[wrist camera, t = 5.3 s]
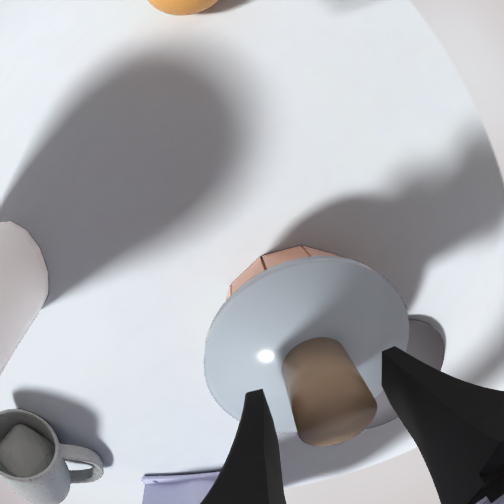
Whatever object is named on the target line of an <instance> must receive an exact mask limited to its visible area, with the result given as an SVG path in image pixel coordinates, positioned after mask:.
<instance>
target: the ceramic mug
mask: <svg viewBox="0 0 504 504" xmlns="http://www.w3.org/2000/svg"><path fill="white" fill-rule="evenodd" d="M66 459H69V460H75V461H82V462H86V463H90V464H93V466H92V468H90V469H85V470H72V471H71V470H68V467H67V464H66V462H65V460H66ZM102 475H103V465H102V461H101V458H100V456H99V455H98V454H97V453H96V452H94V451H92V450H90V449H88V448H85V447H81V446H76V445H69V444H61V443H59V441H58V438H57V436H56V434H55V432H54V430H53V429H52V427H51V426H50V425H49V424H48V423H47V422H46V421H45V420H44V419H42V418H41V417H39V416H38V415H36V414H34V413H32V412H29V411H26V410H22V409H8V410H4V411H1V412H0V477H1V478H2V479H3V480H4V481H5V482H6V483H7V484H8V485H9V486H10V488H11V489H12V490H13V491H14V492H16V493H17V494H18V495H19V496H20V497H22V498H23V499H25V500H27V501H29V502H31V503H33V504H59V503H60V502H62V501H63V500H64V499H65V498H66V496H67V494H68V492H69V489H70V484H71V483H88V482H93V481H96V480H98V479H99V478H101V477H102Z"/></svg>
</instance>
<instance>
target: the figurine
mask: <svg viewBox="0 0 504 504" xmlns="http://www.w3.org/2000/svg"><path fill="white" fill-rule="evenodd" d="M148 1H149V2H150V3H151V4H152V5H153V6H154V7H155V8H157V9H158V10H160V11H162V12H165V13H168V14H172V15H191V14H195V13H198V12H201V11H204V10H206V9H208V8H209V7H211V6H212V5H214V4H215V3H216V2H217V1H218V0H148Z"/></svg>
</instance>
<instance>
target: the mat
mask: <svg viewBox="0 0 504 504" xmlns="http://www.w3.org/2000/svg"><path fill="white" fill-rule="evenodd" d="M406 353H408V354H409V355H411V356H413V357H415V358H416V359H418V360H420V361H422V362H424V363H425V364H427V365H429V366H431V367H433V368H435V369H437V370H439V371H440V370H441V367H442V364H443V360H444V343H443V340H442V338H441V336H440V335H439V333H438V332H437V331H436V330H435V329H434V328H433V327H431V326H430V325H429V324H427V323H425V322H423V321H419V320H409V339H408V344H407V349H406ZM375 400H376V402H377V412H376V415H375V417H374V419H373V420H372V422H371V423H370V424H369V425H368V426H367V427H366V428H365V429H368V428H373V427H376V426H380V425H382V424H385V423H387V422H389V421H392V420H394V419H395V418H397V417H398V415H397V414H396V412H395V410H394V409H393V407H392V406H391V404H390V402H389V400H388V398H387V396H386V394H385V392H384V390H383V391H382V392H381V393H380V394H379V395H378V396H377V397H376V398H375Z"/></svg>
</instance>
